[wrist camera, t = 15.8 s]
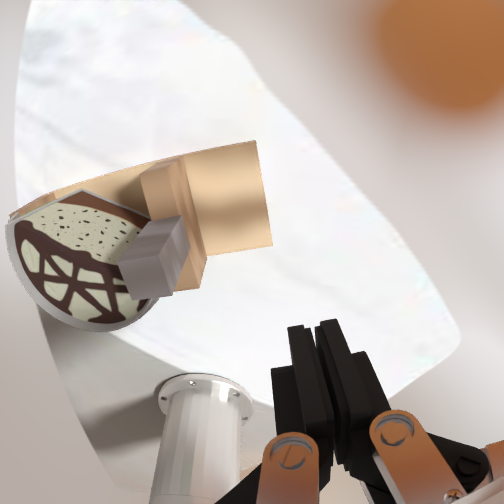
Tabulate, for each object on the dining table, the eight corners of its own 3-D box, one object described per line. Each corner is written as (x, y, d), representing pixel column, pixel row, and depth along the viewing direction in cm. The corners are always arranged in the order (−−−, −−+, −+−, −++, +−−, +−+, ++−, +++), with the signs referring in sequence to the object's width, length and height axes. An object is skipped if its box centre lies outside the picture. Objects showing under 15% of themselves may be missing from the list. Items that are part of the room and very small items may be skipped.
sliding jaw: (209, 257, 28) (189, 342, 18) (183, 261, 28) (151, 345, 18) (185, 155, 24) (139, 191, 14) (156, 162, 24) (96, 202, 14)
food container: (58, 239, 27) (0, 293, 18) (69, 182, 25) (0, 222, 16) (169, 288, 29) (140, 362, 20) (190, 232, 27) (162, 298, 18)
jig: (272, 241, 28) (277, 274, 23) (73, 273, 30) (47, 305, 24) (255, 140, 24) (257, 149, 19) (44, 194, 26) (9, 214, 20)
